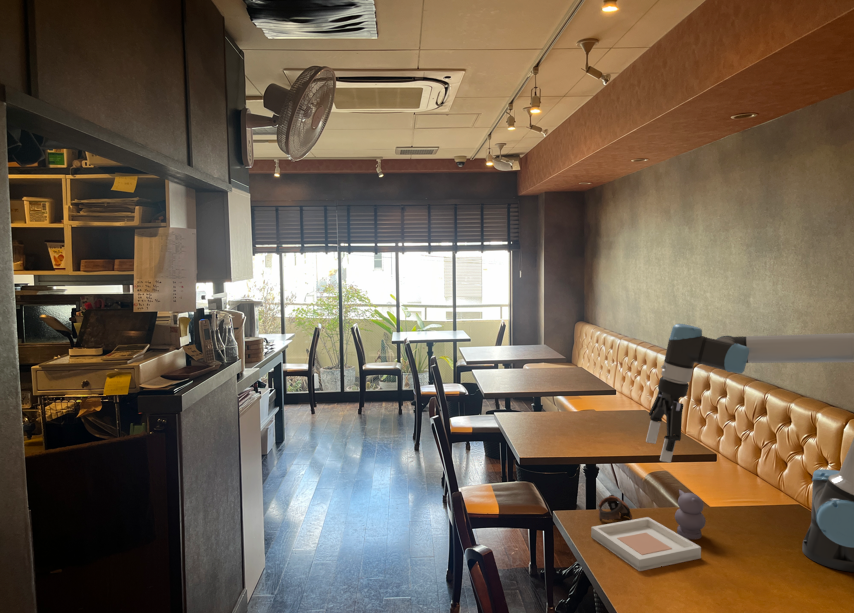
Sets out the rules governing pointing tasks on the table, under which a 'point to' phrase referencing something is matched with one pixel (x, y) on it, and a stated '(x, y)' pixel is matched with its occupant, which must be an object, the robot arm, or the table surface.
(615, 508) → the pottery mug
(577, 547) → the table surface
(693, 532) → the cat figurine
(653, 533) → the tray
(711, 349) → the robot arm
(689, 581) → the table surface
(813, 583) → the table surface
